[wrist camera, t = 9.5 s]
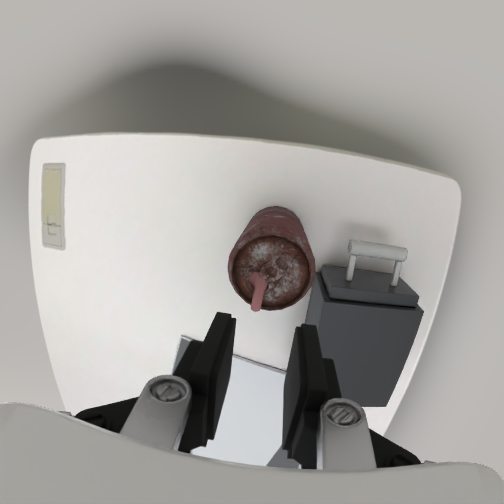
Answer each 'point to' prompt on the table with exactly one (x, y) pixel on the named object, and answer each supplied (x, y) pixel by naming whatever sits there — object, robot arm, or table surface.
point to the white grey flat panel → (248, 415)
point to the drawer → (369, 278)
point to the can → (272, 261)
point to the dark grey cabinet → (363, 343)
